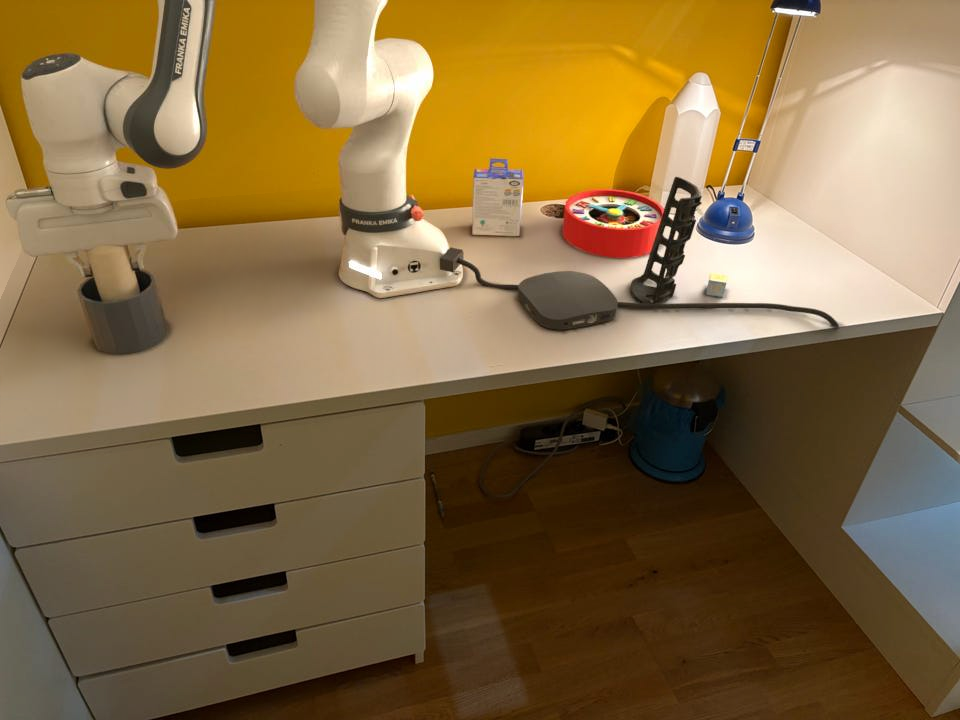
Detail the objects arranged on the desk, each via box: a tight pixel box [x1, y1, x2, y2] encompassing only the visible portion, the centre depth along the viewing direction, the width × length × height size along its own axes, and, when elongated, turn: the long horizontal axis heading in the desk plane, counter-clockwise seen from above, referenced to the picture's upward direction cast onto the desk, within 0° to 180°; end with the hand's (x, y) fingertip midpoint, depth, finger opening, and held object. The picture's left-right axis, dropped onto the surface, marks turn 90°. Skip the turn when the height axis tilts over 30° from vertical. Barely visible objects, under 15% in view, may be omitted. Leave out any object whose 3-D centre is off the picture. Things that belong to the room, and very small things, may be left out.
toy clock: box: [561, 188, 665, 259], centre depth 147 cm, size 20×6×20 cm
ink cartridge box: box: [471, 158, 524, 237], centre depth 145 cm, size 10×6×14 cm, turn 89°
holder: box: [629, 176, 703, 304], centre depth 124 cm, size 11×8×20 cm
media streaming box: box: [517, 270, 619, 331], centre depth 124 cm, size 15×15×3 cm
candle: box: [84, 245, 140, 302], centre depth 107 cm, size 6×6×10 cm
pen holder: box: [77, 269, 168, 355], centre depth 111 cm, size 11×11×9 cm
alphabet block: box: [705, 272, 729, 298], centre depth 129 cm, size 3×3×3 cm
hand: (113, 272), depth 108 cm, fingers closed on candle, 5 cm apart
